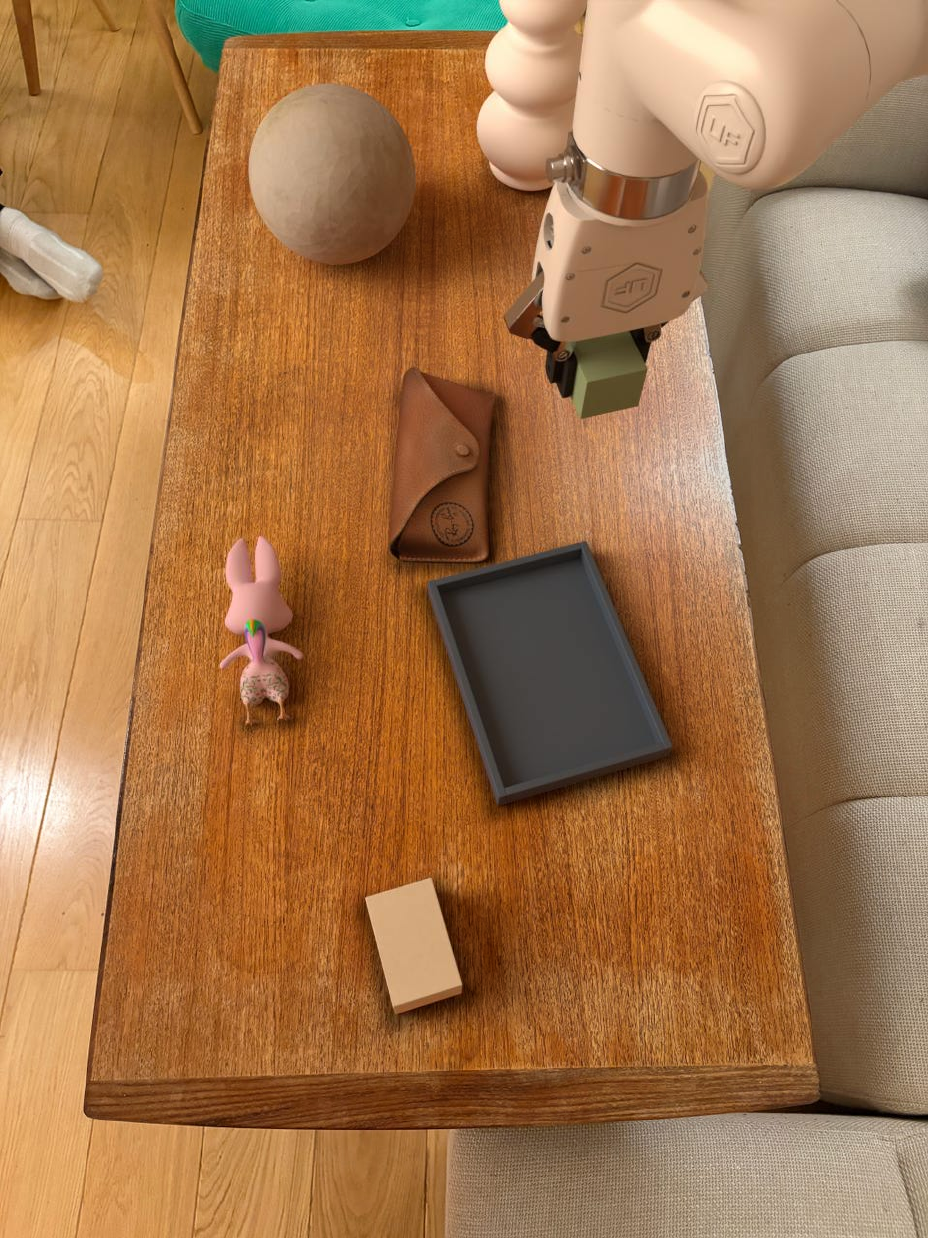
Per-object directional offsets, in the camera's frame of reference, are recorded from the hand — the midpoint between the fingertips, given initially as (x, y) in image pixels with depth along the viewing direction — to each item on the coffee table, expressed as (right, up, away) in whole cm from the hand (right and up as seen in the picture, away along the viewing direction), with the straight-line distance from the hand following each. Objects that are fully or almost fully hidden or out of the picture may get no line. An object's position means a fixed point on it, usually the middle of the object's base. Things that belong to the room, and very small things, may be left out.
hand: (594, 373), depth 74 cm
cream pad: (-13, -40, -6) cm, 43 cm away
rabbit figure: (-25, -20, +4) cm, 32 cm away
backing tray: (-3, -22, +3) cm, 23 cm away
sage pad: (0, 0, 0) cm, 0 cm away
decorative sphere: (-22, +19, +24) cm, 37 cm away
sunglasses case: (-11, -6, +12) cm, 17 cm away
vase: (-3, +28, +29) cm, 41 cm away
